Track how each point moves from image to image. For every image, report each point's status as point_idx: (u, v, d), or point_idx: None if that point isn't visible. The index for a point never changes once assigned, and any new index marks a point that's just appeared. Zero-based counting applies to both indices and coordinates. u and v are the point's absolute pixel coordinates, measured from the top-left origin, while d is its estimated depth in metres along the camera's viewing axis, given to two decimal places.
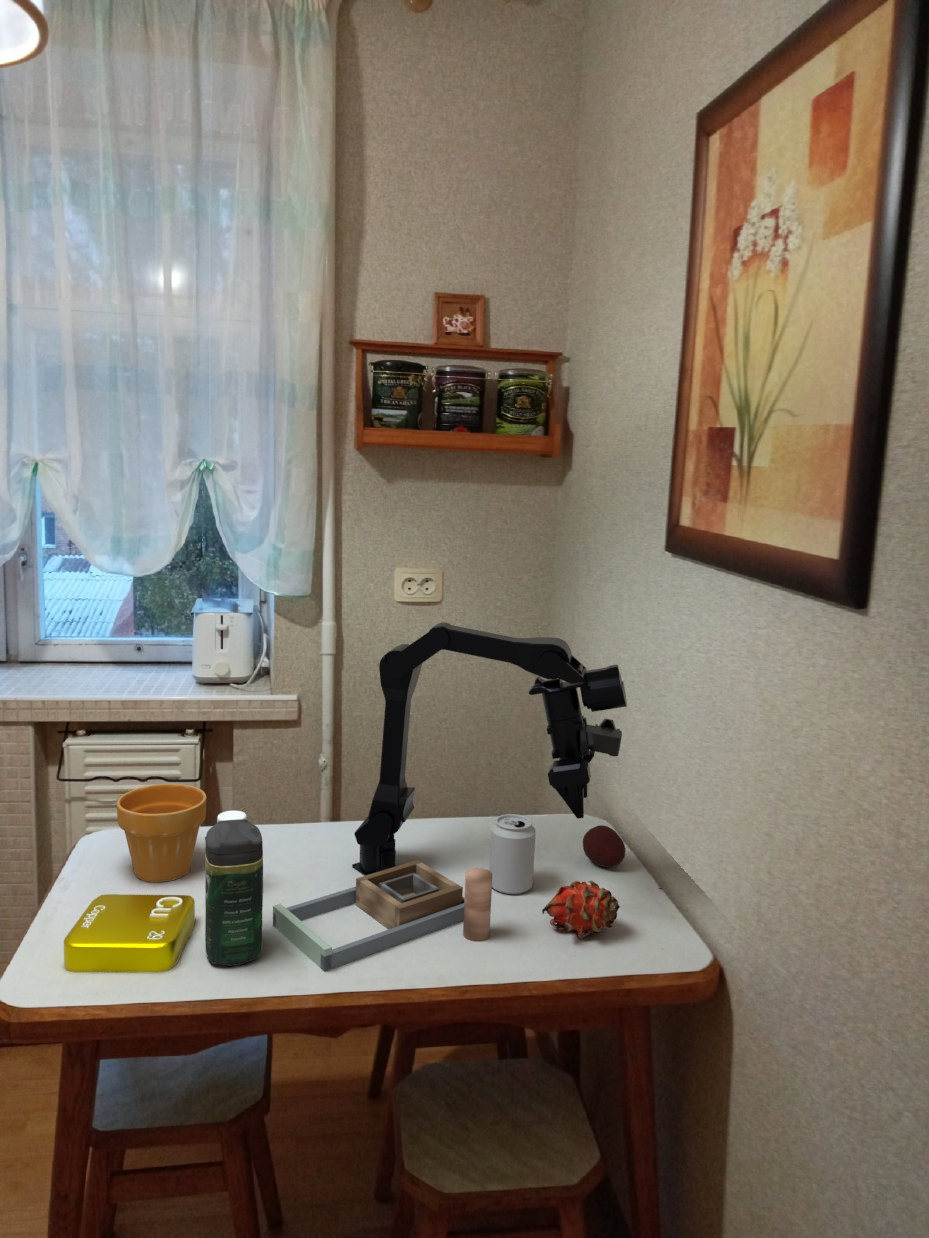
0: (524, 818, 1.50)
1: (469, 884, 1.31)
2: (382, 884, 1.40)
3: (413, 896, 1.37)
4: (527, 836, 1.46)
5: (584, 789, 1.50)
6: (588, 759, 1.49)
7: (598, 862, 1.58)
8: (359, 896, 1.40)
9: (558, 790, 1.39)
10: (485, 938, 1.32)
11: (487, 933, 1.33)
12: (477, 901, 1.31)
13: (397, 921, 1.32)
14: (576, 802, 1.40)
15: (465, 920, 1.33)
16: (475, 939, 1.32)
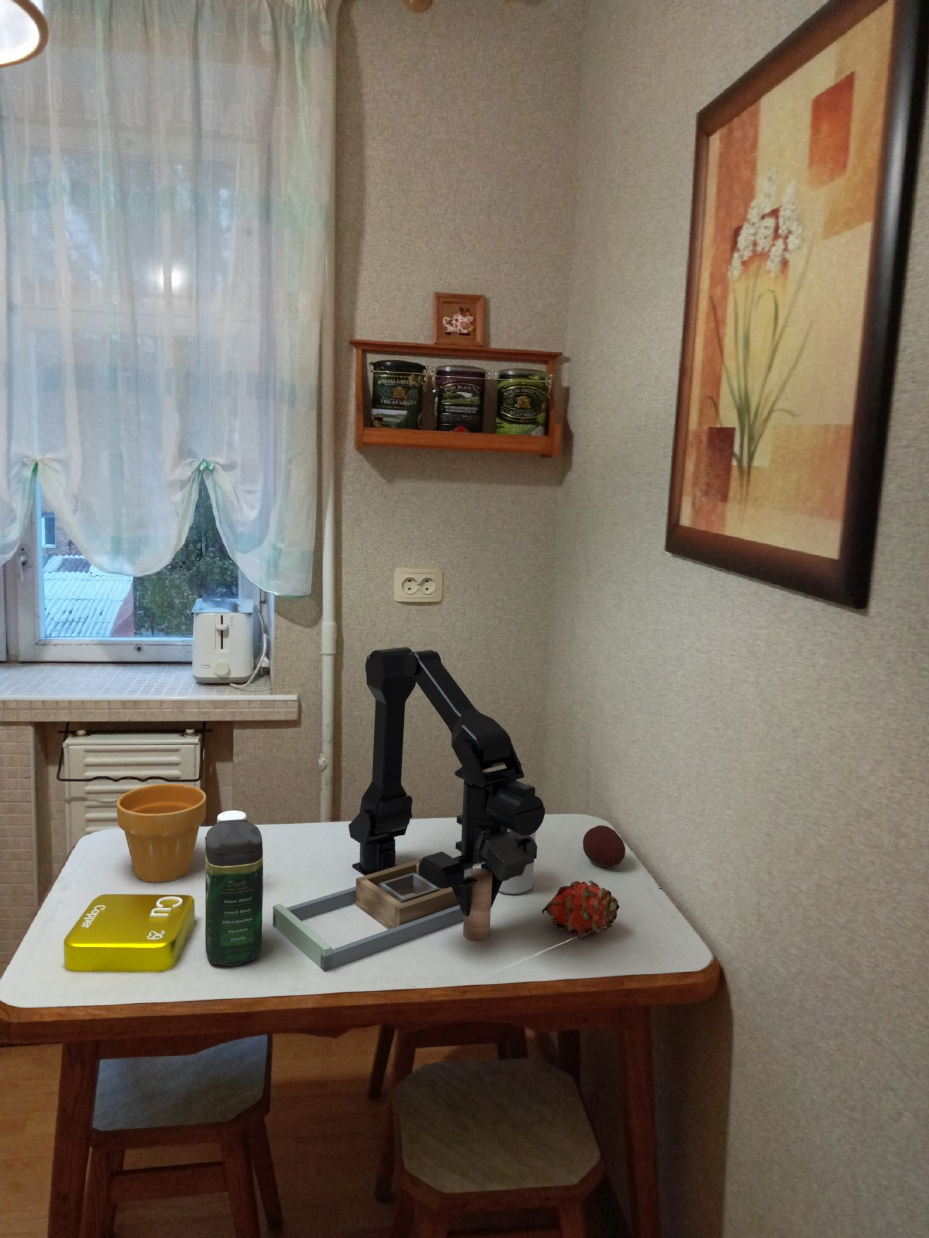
0: None
1: None
2: (382, 884, 1.40)
3: (413, 896, 1.37)
4: None
5: None
6: None
7: (598, 862, 1.58)
8: (359, 896, 1.40)
9: None
10: (485, 938, 1.32)
11: (487, 933, 1.33)
12: (477, 901, 1.31)
13: (397, 921, 1.32)
14: (461, 898, 1.31)
15: (465, 920, 1.33)
16: (475, 939, 1.32)
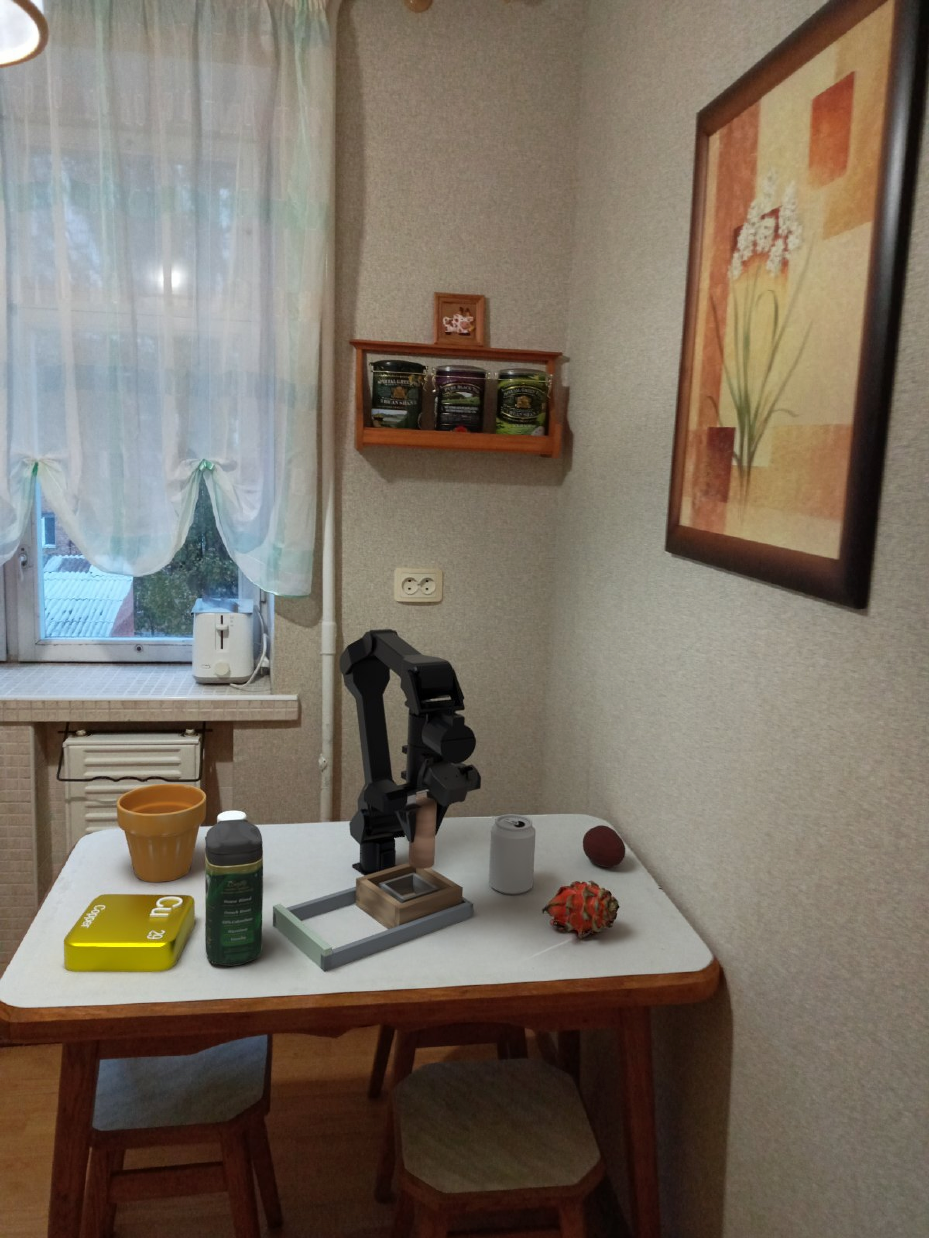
0: (524, 818, 1.50)
1: None
2: (382, 884, 1.40)
3: (413, 896, 1.37)
4: (527, 837, 1.46)
5: None
6: None
7: (598, 862, 1.58)
8: (359, 896, 1.40)
9: None
10: (429, 864, 1.37)
11: (431, 859, 1.37)
12: (421, 828, 1.35)
13: (397, 921, 1.32)
14: (405, 825, 1.35)
15: (410, 847, 1.37)
16: (419, 865, 1.36)
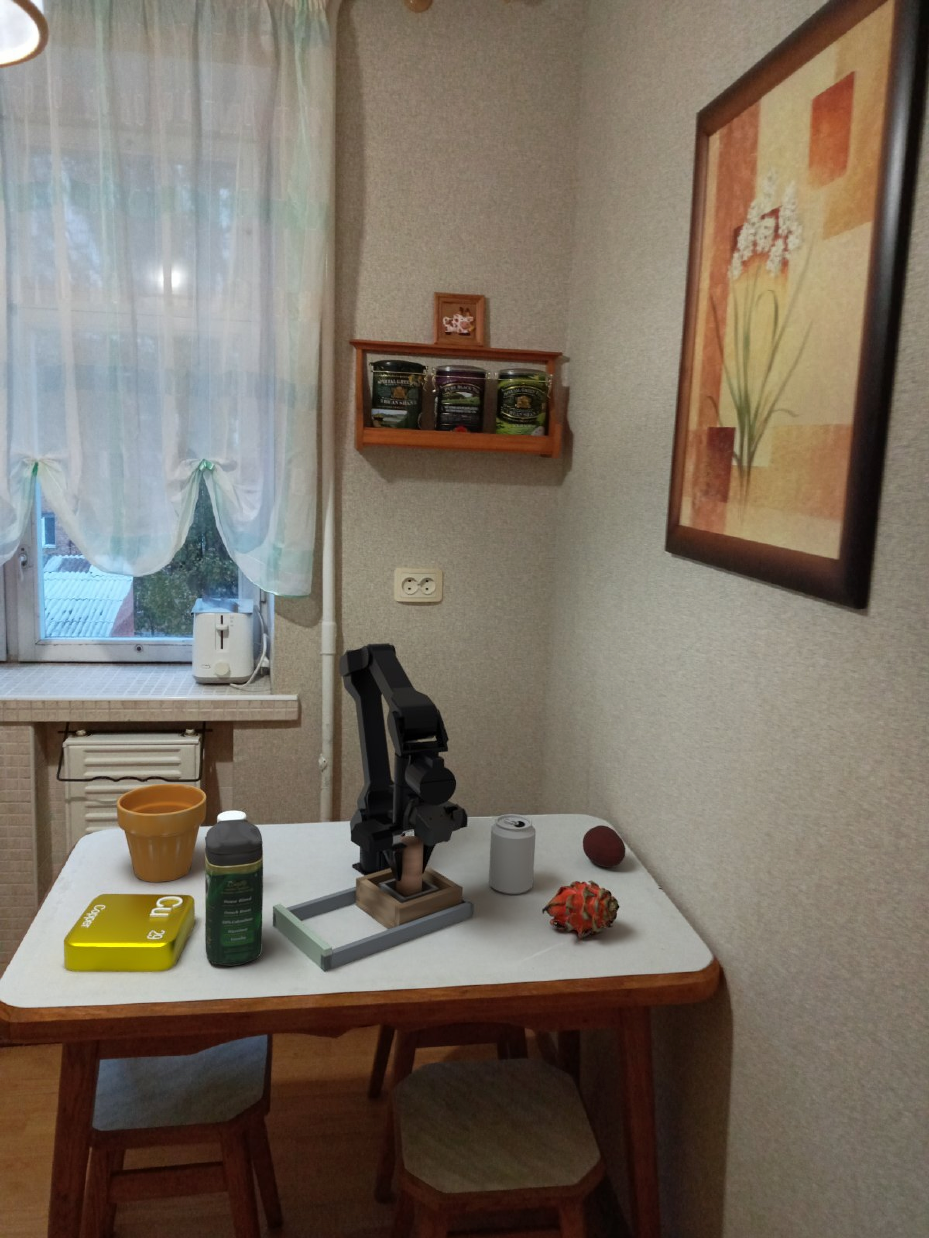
0: (524, 818, 1.50)
1: None
2: (382, 884, 1.40)
3: (413, 896, 1.37)
4: (527, 836, 1.46)
5: None
6: None
7: (598, 862, 1.58)
8: (359, 896, 1.40)
9: None
10: None
11: None
12: (408, 867, 1.37)
13: (397, 921, 1.32)
14: (392, 864, 1.37)
15: (397, 885, 1.39)
16: None
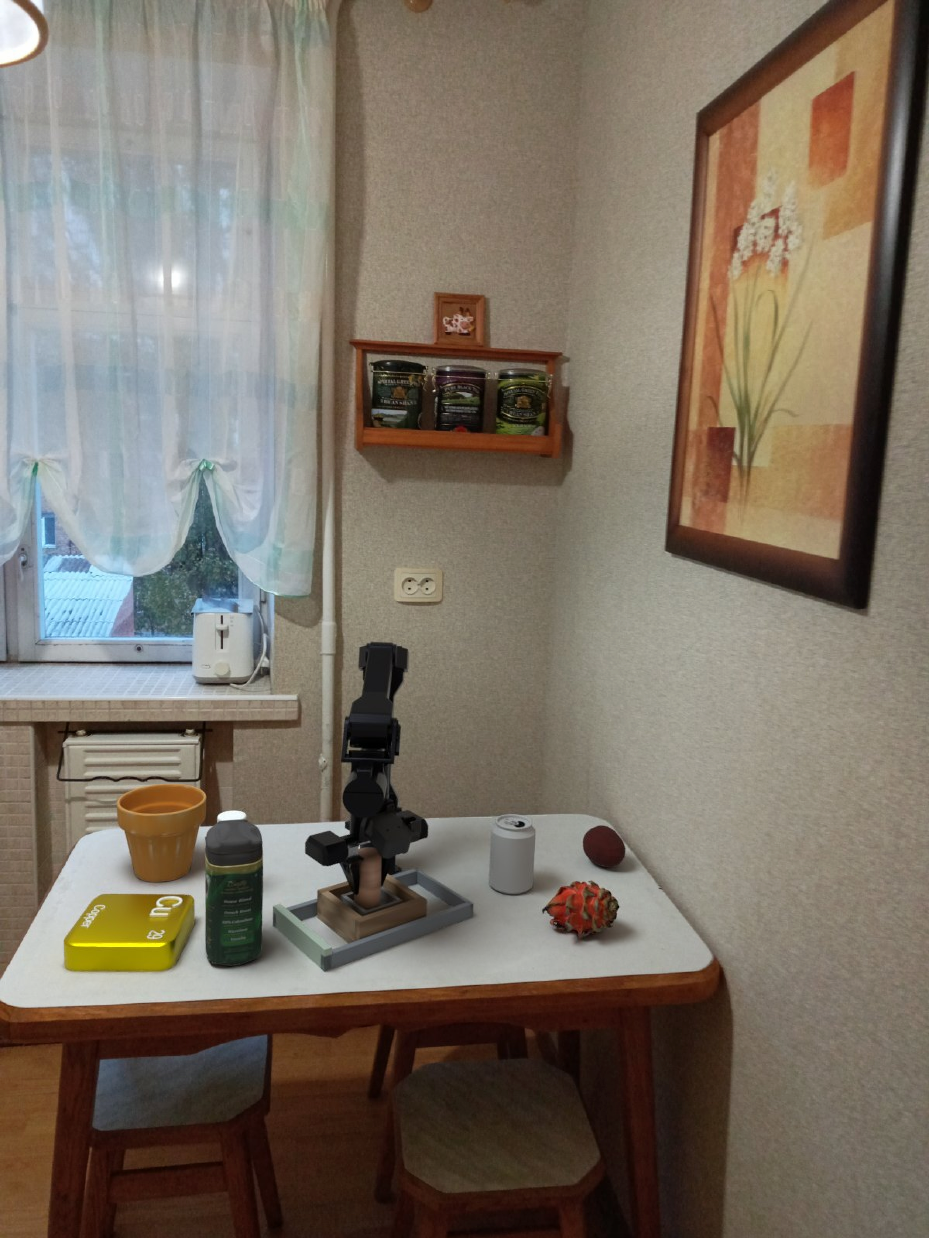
0: (524, 818, 1.50)
1: None
2: (344, 896, 1.36)
3: (375, 909, 1.32)
4: (527, 837, 1.46)
5: None
6: None
7: (598, 862, 1.58)
8: (320, 909, 1.36)
9: None
10: None
11: None
12: (365, 880, 1.32)
13: (357, 935, 1.28)
14: (349, 877, 1.32)
15: (355, 898, 1.34)
16: None
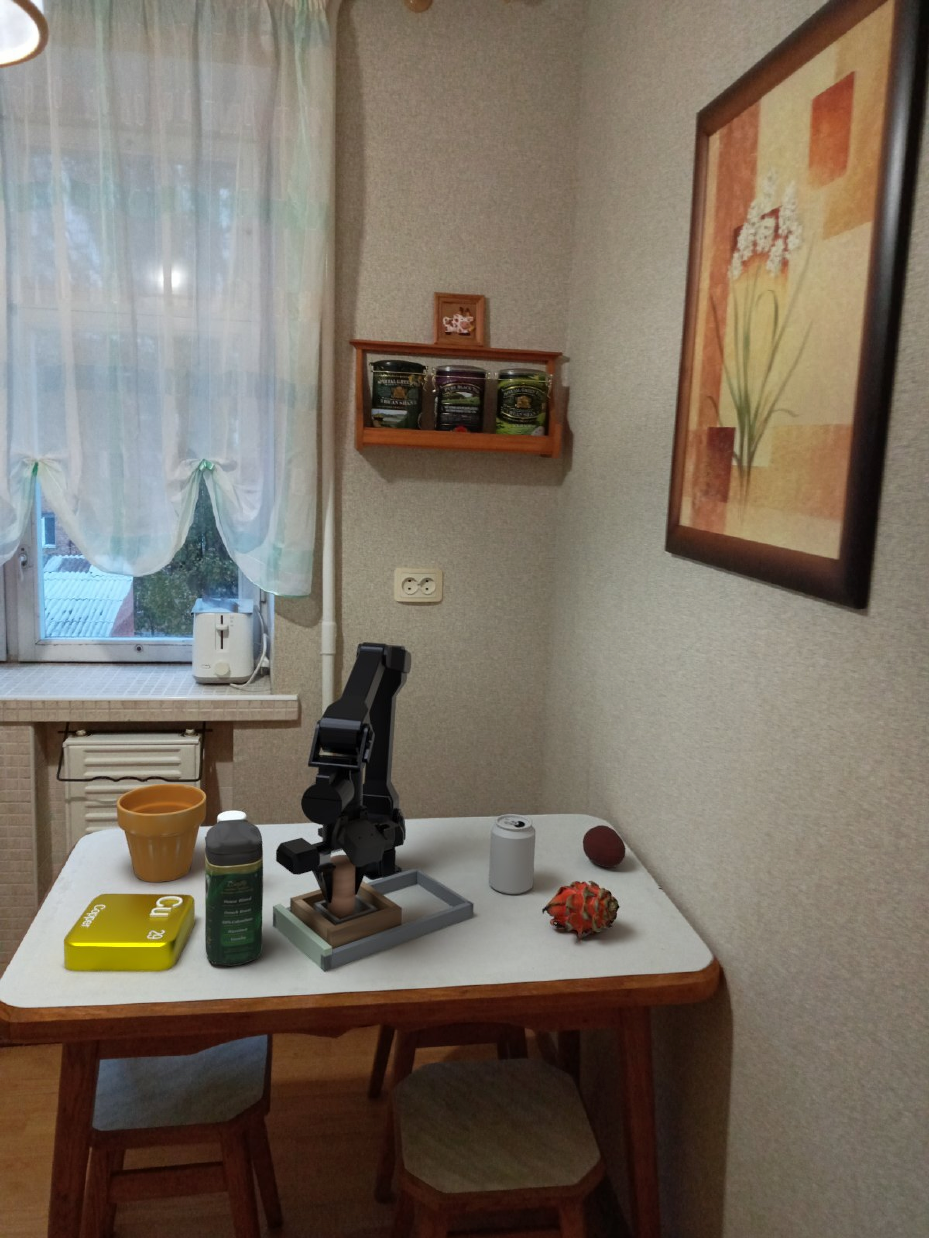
0: (524, 818, 1.50)
1: None
2: (317, 904, 1.33)
3: (348, 917, 1.29)
4: (527, 837, 1.46)
5: None
6: None
7: (598, 862, 1.58)
8: None
9: None
10: None
11: None
12: (338, 888, 1.30)
13: None
14: (322, 885, 1.29)
15: (328, 907, 1.31)
16: None
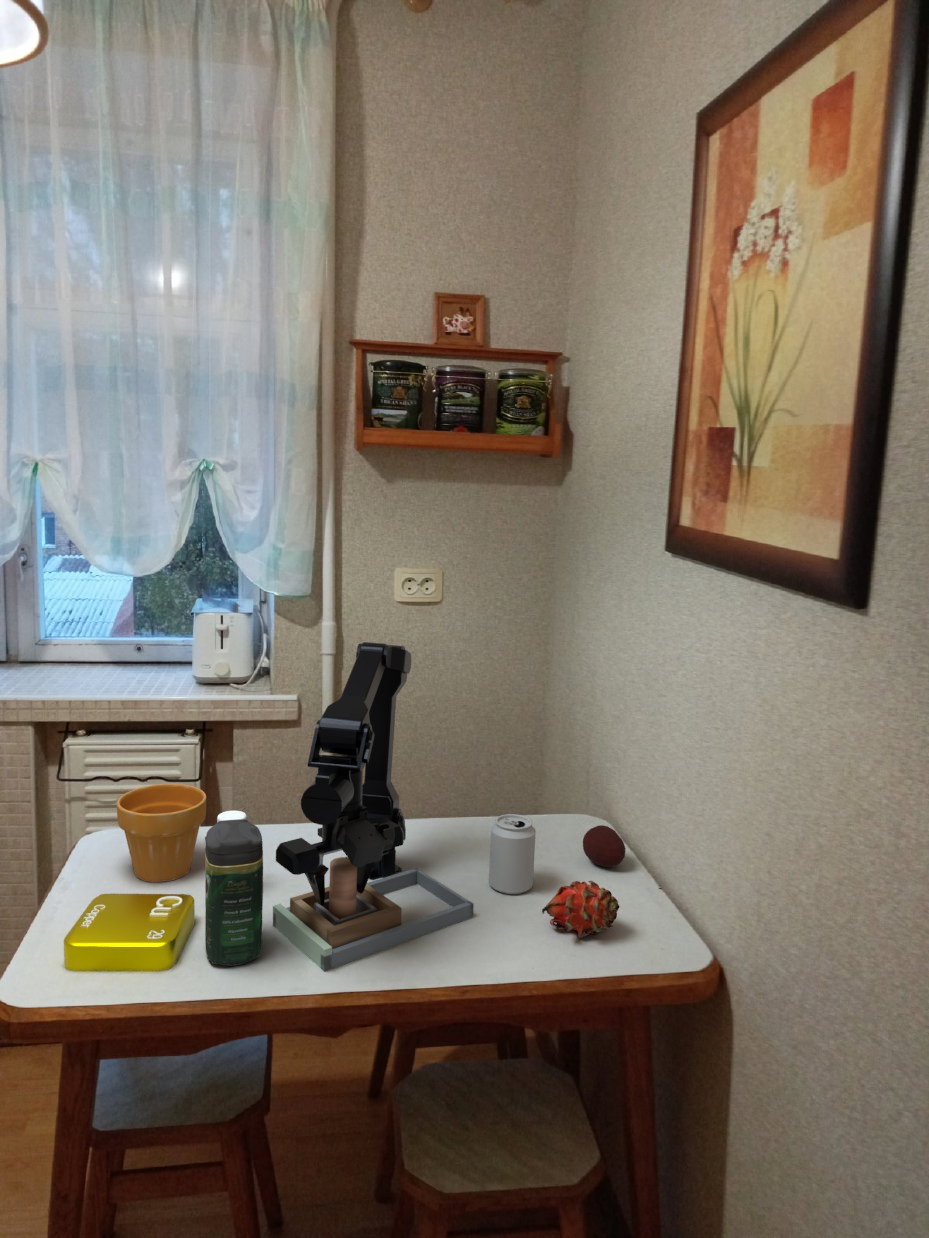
0: (524, 818, 1.50)
1: (332, 873, 1.30)
2: (317, 904, 1.33)
3: (348, 917, 1.29)
4: (527, 836, 1.46)
5: (360, 884, 1.33)
6: None
7: (598, 862, 1.58)
8: None
9: None
10: None
11: None
12: (340, 890, 1.30)
13: None
14: (314, 887, 1.29)
15: (329, 909, 1.31)
16: None
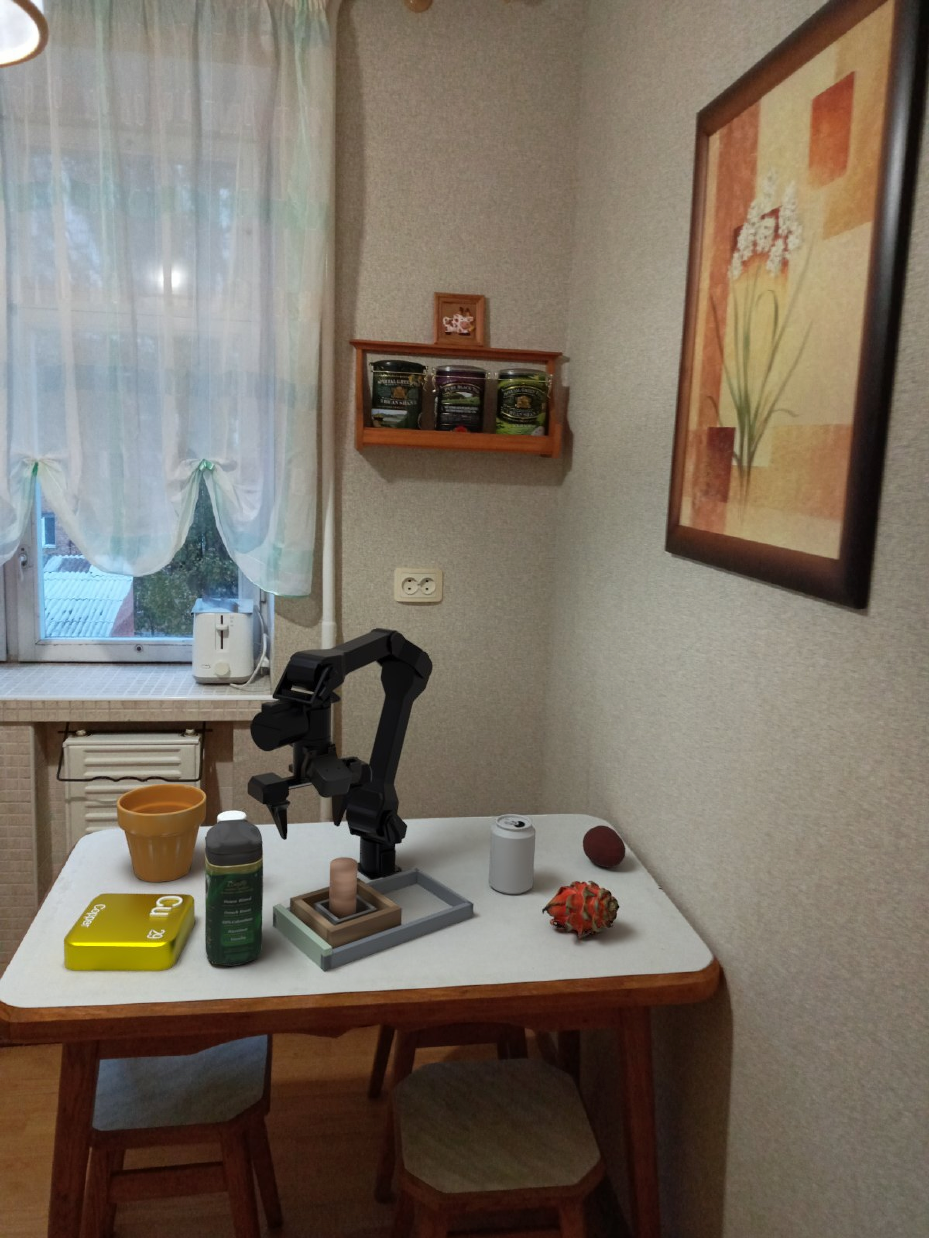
0: (524, 818, 1.50)
1: (332, 873, 1.30)
2: (317, 904, 1.33)
3: (348, 917, 1.29)
4: (527, 836, 1.46)
5: (336, 817, 1.40)
6: None
7: (598, 862, 1.58)
8: None
9: None
10: None
11: None
12: (340, 891, 1.30)
13: None
14: (277, 821, 1.33)
15: (329, 909, 1.31)
16: None
